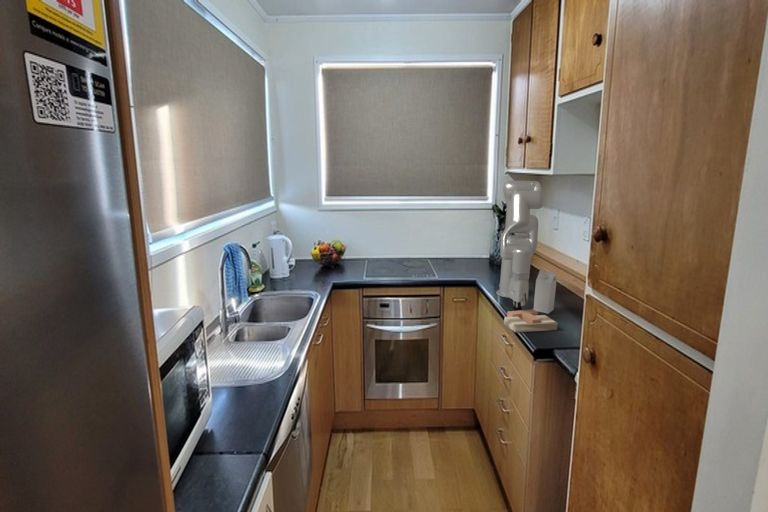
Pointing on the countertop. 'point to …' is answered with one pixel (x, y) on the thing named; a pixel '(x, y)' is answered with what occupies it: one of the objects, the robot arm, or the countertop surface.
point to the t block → (525, 315)
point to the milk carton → (545, 292)
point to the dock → (530, 324)
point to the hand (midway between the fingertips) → (517, 314)
